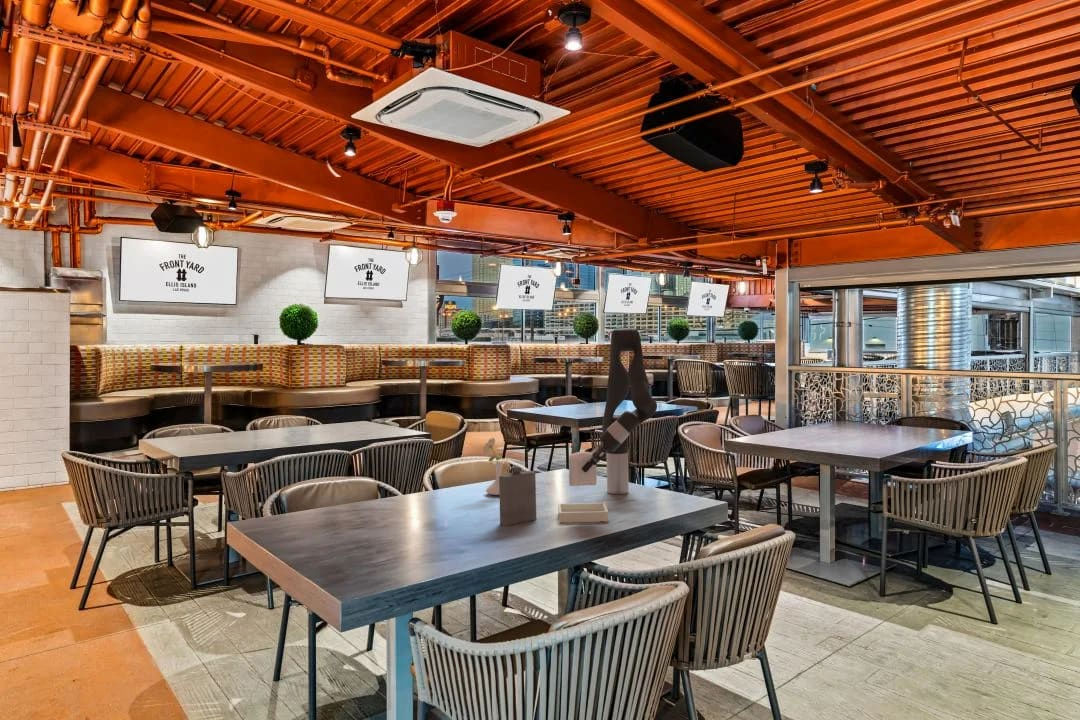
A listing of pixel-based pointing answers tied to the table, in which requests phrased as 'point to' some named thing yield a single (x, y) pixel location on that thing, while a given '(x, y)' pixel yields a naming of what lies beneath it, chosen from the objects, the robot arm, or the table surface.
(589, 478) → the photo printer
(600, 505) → the trough
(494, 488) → the flower in vase
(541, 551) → the table surface
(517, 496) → the flask
